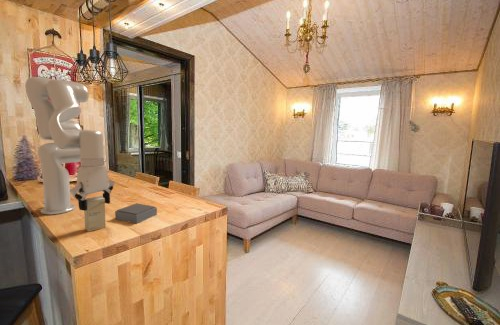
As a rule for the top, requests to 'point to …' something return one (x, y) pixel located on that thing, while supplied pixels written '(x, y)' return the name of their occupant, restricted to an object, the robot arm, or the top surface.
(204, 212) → the top surface
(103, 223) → the skincare box
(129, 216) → the stand
